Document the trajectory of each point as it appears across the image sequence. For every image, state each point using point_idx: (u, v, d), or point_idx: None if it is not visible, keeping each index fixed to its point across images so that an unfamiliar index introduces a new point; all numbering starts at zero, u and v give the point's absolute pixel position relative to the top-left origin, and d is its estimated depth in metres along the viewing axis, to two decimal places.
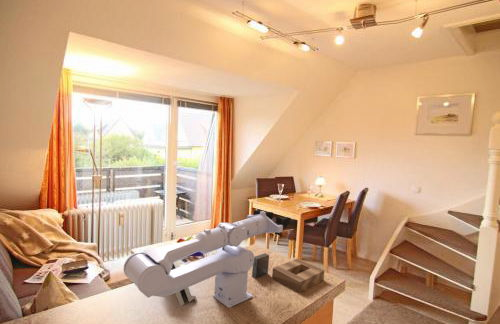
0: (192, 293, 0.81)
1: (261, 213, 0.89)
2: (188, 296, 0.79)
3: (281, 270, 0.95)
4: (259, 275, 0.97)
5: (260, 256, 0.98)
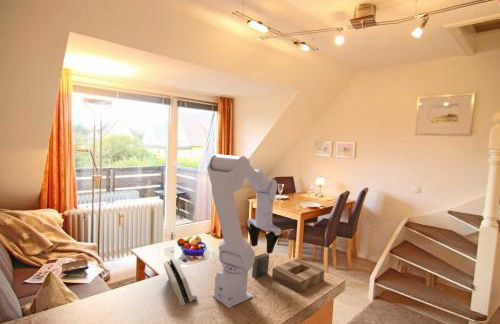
0: (193, 293, 0.81)
1: None
2: (189, 296, 0.79)
3: (281, 270, 0.95)
4: (259, 275, 0.97)
5: (260, 256, 0.98)
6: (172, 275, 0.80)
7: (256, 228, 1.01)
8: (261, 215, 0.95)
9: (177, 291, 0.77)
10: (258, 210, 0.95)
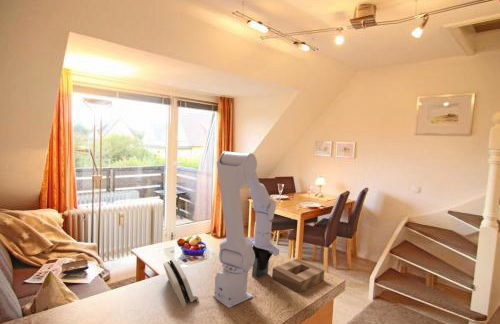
0: (194, 293, 0.81)
1: None
2: (190, 297, 0.79)
3: (281, 270, 0.95)
4: (259, 275, 0.97)
5: None
6: (173, 276, 0.79)
7: (260, 249, 0.99)
8: (260, 235, 0.95)
9: (178, 292, 0.77)
10: (257, 230, 0.96)
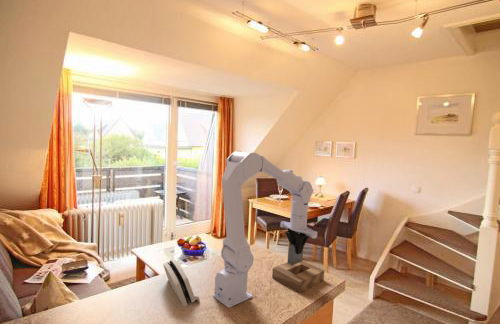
0: (195, 294, 0.81)
1: None
2: (191, 297, 0.78)
3: (281, 270, 0.95)
4: (295, 262, 0.96)
5: (295, 243, 0.96)
6: (174, 276, 0.79)
7: (295, 233, 0.98)
8: (297, 218, 0.94)
9: (179, 292, 0.77)
10: (291, 212, 0.95)
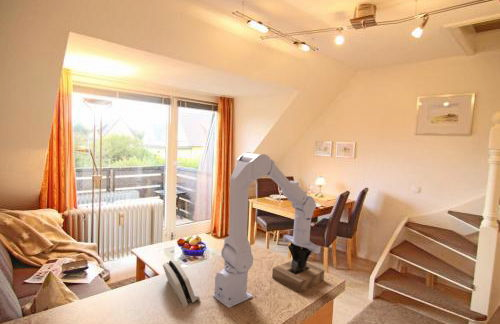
0: (195, 294, 0.81)
1: None
2: (192, 297, 0.78)
3: (281, 270, 0.95)
4: None
5: (298, 259, 0.97)
6: (174, 276, 0.79)
7: (298, 247, 0.98)
8: (300, 233, 0.94)
9: (180, 292, 0.77)
10: (294, 226, 0.96)
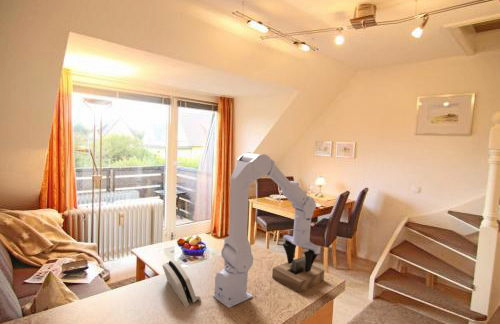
0: (196, 294, 0.81)
1: None
2: (193, 297, 0.78)
3: (281, 270, 0.95)
4: None
5: (298, 260, 0.97)
6: (175, 276, 0.79)
7: (292, 245, 1.00)
8: (300, 233, 0.94)
9: (181, 292, 0.77)
10: (294, 226, 0.96)
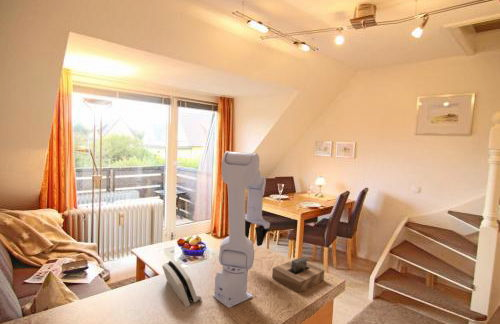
0: (196, 294, 0.81)
1: None
2: (194, 297, 0.78)
3: (281, 270, 0.95)
4: None
5: (298, 260, 0.97)
6: (176, 277, 0.79)
7: (247, 222, 1.07)
8: (251, 210, 1.01)
9: (182, 292, 0.77)
10: (250, 205, 1.01)
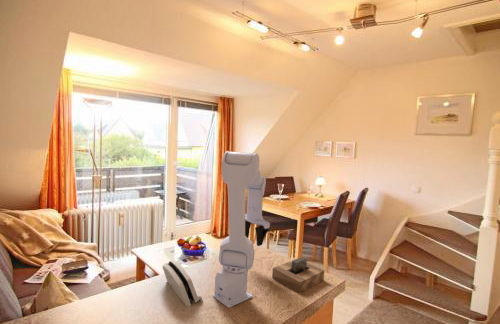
0: (197, 294, 0.81)
1: None
2: (194, 297, 0.78)
3: (281, 270, 0.95)
4: None
5: (298, 260, 0.97)
6: (176, 277, 0.79)
7: (247, 222, 1.07)
8: (251, 210, 1.01)
9: (183, 293, 0.77)
10: (250, 205, 1.01)
